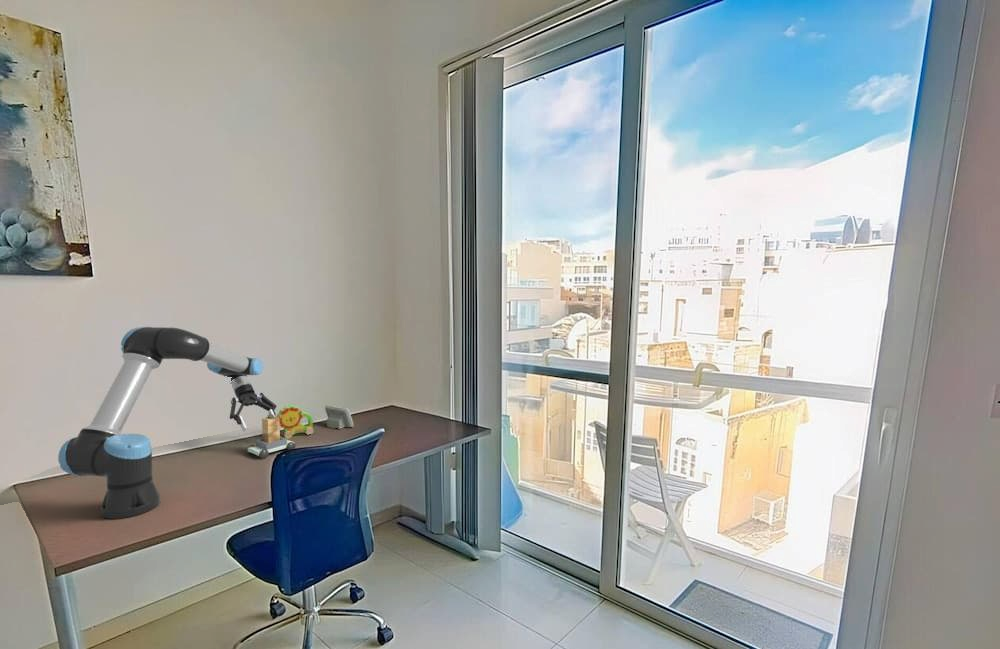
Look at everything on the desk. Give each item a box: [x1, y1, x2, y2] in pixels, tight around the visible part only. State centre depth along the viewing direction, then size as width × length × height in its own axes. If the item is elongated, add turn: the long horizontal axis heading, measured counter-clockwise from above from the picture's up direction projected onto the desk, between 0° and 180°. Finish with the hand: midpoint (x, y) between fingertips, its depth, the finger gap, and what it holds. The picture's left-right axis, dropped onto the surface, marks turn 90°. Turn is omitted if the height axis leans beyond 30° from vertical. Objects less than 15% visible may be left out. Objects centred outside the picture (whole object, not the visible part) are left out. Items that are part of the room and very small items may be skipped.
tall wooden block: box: [261, 414, 281, 443], centre depth 206 cm, size 5×5×13 cm
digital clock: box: [324, 405, 355, 430], centre depth 243 cm, size 16×9×11 cm, turn 50°
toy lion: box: [276, 405, 314, 440], centre depth 227 cm, size 16×5×15 cm, turn 128°
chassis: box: [246, 436, 296, 459], centre depth 206 cm, size 16×11×6 cm
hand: (260, 425), depth 211 cm, fingers open, 13 cm apart
